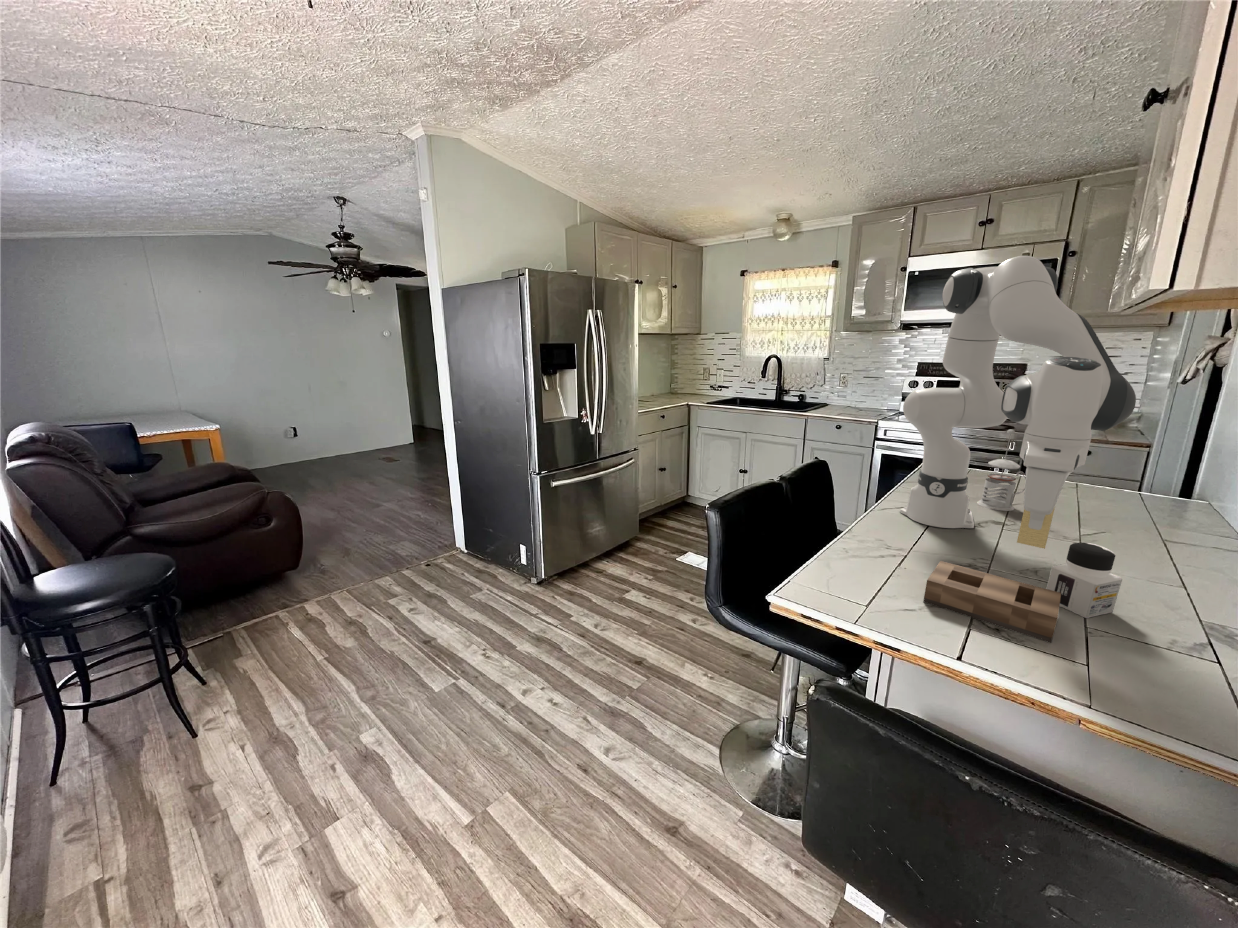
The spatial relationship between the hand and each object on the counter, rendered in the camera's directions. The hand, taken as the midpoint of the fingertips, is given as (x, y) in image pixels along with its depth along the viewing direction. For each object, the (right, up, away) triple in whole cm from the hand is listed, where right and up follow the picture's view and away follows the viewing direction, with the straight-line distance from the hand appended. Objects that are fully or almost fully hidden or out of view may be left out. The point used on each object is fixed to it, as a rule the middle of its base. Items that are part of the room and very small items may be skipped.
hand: (1036, 524), depth 89 cm
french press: (+45, -3, +66) cm, 80 cm away
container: (+16, -18, +9) cm, 26 cm away
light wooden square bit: (0, -4, +1) cm, 4 cm away
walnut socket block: (-3, -18, +8) cm, 20 cm away
